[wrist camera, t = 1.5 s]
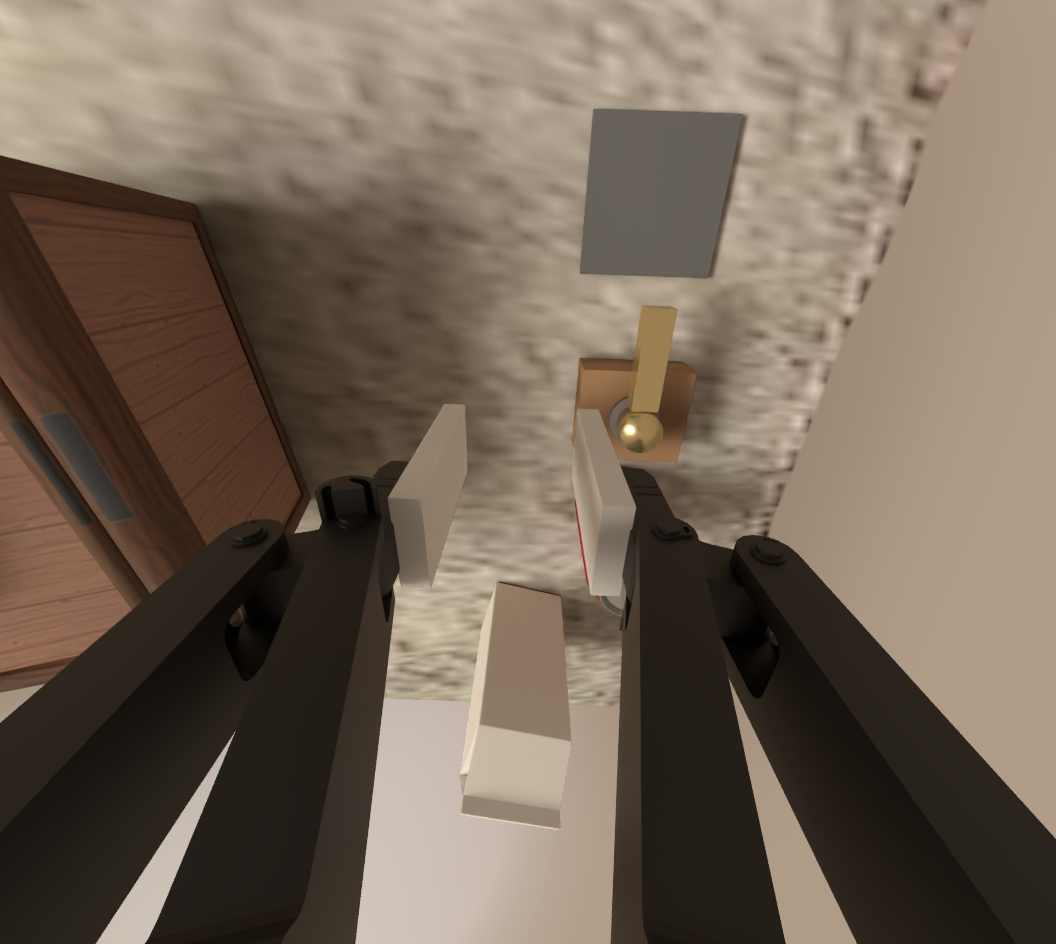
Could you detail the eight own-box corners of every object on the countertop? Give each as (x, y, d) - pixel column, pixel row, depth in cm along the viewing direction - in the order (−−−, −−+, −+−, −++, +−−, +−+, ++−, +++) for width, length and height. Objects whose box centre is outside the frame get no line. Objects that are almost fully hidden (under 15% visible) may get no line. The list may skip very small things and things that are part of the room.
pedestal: (579, 358, 33) (584, 371, 29) (681, 362, 33) (699, 375, 29) (572, 440, 36) (576, 461, 32) (665, 443, 36) (679, 465, 32)
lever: (632, 304, 27) (640, 308, 25) (676, 305, 27) (687, 310, 25) (613, 439, 31) (619, 452, 29) (651, 441, 31) (659, 453, 29)
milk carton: (496, 580, 44) (471, 787, 27) (561, 595, 44) (576, 805, 28) (481, 626, 47) (450, 837, 30) (542, 639, 48) (545, 851, 31)
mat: (593, 110, 26) (594, 108, 25) (740, 115, 26) (743, 114, 25) (580, 273, 30) (580, 273, 29) (706, 277, 30) (708, 278, 29)
